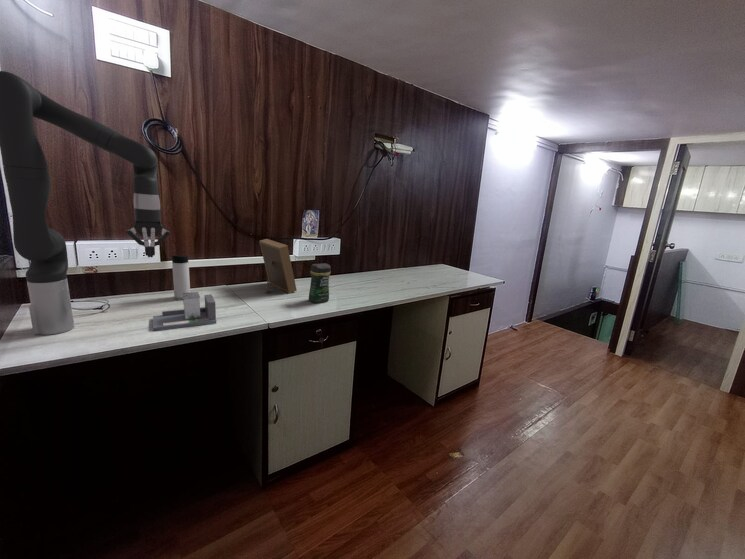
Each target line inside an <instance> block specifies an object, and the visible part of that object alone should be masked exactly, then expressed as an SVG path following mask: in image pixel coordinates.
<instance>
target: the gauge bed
mask: <svg viewBox="0 0 745 559" xmlns="http://www.w3.org/2000/svg"><path fill="white" fill-rule="evenodd" d="M161 313H162V314H159V315H153V316H152V331H153V332H157V331H165V330H175V329H181V328H189V327H190V326H191V327H196V326H197V327H198V326H205V325H214V323H215V324H217V318H216V315H217V311H216V300H215V299H214V297H213V295H212V294H204V307H200V318H197V319H195V320H192V319H188V320H185V316H184V308H181V309H173V310H171V309H170V310H163V311H161Z"/></svg>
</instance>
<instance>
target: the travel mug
mask: <svg viewBox="0 0 745 559" xmlns="http://www.w3.org/2000/svg"><path fill="white" fill-rule="evenodd" d="M171 261H172V262H171V264H172V266H171V267H172V279H173V294H174V295H173V297H174V300H178V301H183V293H190V292H191V282H190V266H189V264H190V263H189V256H188V255H182V254H181V255H180V254H173V255H172V256H171Z"/></svg>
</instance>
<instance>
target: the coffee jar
mask: <svg viewBox="0 0 745 559" xmlns="http://www.w3.org/2000/svg"><path fill="white" fill-rule="evenodd" d="M331 272H332V271H331V264H328V263H326V262H324V263H312V264H311V266H310V270H309V273H310V278H311V279H310V286H309V292H308V300H309V301H310V302H311V303H317V304H319V303H325V302H328V301H329V300H330V287H329V286H330V275H331Z"/></svg>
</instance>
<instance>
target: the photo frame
mask: <svg viewBox="0 0 745 559" xmlns="http://www.w3.org/2000/svg"><path fill="white" fill-rule="evenodd" d="M258 241H259V242H258V243H259V246H260V251H261V255H262V259H263V263H264V266H265V271H266V275H267V282H266V288H265V294H267V293H268V289H269V284H270V285H271V286H274V287H276V288H278V289H280V290H282V291H284V292H286V293H288V294H291V293H294V292H296V291H297V285H296V282H295V281H296V280H295V275H294V271H293V266H292V261H291V256H290V251H289V245H287V244H285V243H281V242H277V241H275V240H271V239H269V238H264V239H261V240H258Z"/></svg>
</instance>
